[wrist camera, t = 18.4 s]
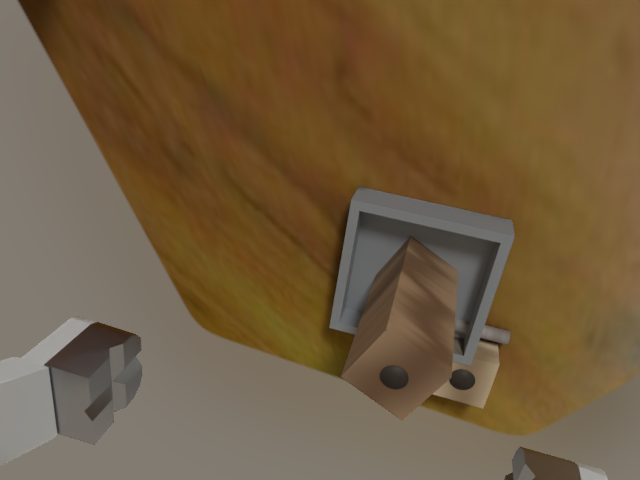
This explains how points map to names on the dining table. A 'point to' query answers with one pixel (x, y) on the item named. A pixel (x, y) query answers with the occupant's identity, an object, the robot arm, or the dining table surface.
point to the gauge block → (475, 367)
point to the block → (405, 331)
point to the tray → (438, 236)
